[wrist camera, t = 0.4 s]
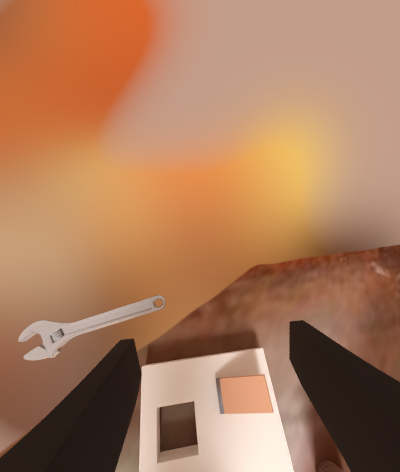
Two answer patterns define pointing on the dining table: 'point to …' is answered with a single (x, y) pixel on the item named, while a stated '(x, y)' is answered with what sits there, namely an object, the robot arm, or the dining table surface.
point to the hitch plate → (210, 418)
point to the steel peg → (328, 467)
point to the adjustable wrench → (81, 327)
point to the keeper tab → (243, 395)
